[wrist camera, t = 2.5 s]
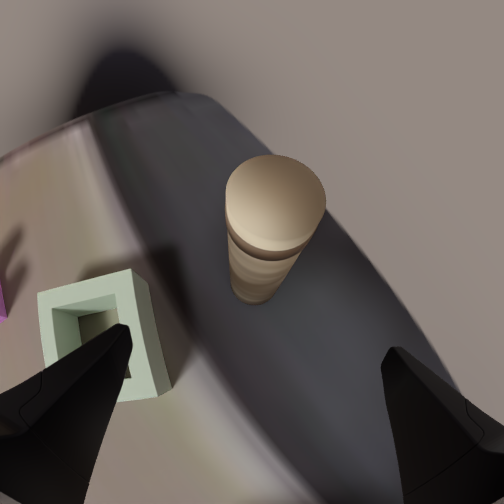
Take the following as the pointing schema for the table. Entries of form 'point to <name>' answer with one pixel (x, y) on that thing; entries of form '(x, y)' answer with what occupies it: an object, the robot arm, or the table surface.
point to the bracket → (2, 307)
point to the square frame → (130, 313)
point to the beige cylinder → (269, 222)
